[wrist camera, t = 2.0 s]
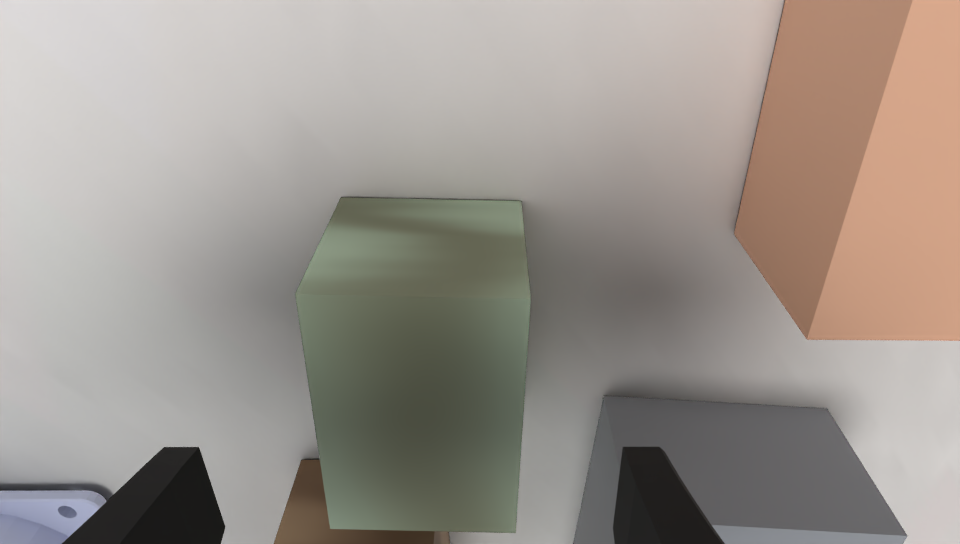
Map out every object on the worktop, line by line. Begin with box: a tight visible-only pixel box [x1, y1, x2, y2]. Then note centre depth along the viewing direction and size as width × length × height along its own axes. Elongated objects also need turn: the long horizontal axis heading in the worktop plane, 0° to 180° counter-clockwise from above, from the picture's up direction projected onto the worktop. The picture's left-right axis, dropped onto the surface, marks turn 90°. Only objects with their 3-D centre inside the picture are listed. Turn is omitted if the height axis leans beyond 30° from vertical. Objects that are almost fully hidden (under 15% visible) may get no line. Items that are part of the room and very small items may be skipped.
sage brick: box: [295, 197, 531, 533], centre depth 14 cm, size 4×6×4 cm, turn 179°
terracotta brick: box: [734, 0, 960, 341], centre depth 12 cm, size 4×6×4 cm, turn 0°
